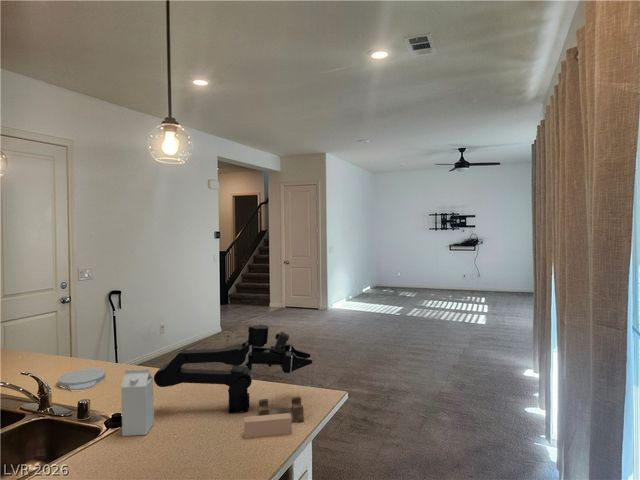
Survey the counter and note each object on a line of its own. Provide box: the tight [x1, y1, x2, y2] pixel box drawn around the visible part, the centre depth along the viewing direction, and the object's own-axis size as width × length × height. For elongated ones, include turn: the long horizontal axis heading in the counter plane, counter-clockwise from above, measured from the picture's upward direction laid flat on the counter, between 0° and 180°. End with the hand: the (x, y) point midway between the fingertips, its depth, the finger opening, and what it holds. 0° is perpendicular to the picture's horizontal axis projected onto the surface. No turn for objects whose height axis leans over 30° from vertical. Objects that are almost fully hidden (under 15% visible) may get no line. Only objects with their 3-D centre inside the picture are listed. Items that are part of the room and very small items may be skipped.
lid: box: [57, 367, 107, 391], centre depth 169 cm, size 17×20×3 cm
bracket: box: [258, 396, 305, 423], centre depth 136 cm, size 14×9×5 cm, turn 99°
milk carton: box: [120, 368, 155, 437], centre depth 128 cm, size 7×7×19 cm
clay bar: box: [243, 413, 293, 439], centre depth 125 cm, size 14×4×5 cm, turn 100°
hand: (311, 358), depth 144 cm, fingers open, 9 cm apart
